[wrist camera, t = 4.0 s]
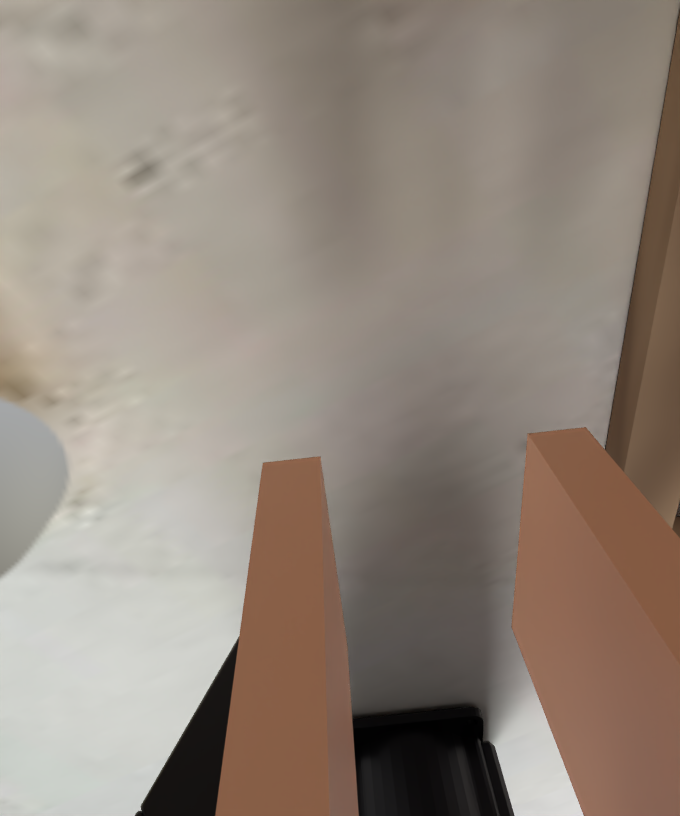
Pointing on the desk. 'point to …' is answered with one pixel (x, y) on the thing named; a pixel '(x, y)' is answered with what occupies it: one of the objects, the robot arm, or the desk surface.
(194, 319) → the desk surface
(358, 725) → the robot arm
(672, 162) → the stand
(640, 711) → the clip
